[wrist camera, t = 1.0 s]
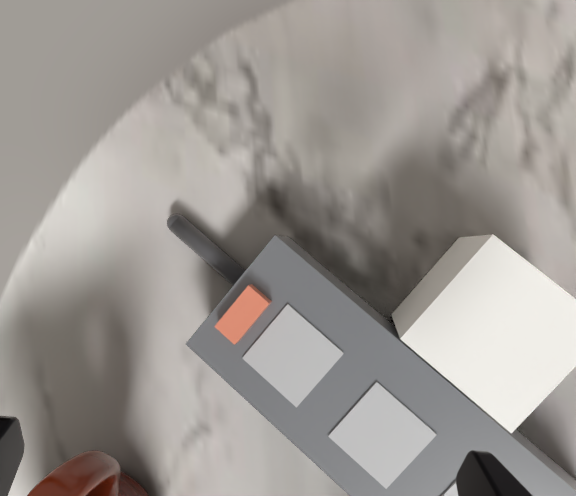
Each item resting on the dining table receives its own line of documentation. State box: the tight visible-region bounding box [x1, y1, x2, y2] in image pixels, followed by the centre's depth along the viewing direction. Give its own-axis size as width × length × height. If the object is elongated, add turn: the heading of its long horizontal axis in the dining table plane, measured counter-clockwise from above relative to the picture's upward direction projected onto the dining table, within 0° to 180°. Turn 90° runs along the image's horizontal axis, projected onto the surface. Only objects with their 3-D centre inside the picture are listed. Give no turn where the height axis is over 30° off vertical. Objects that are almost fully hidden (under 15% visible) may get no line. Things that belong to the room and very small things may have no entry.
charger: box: [391, 234, 576, 433], centre depth 19 cm, size 5×8×6 cm, turn 140°
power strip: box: [167, 214, 576, 496], centre depth 21 cm, size 24×6×4 cm, turn 50°
